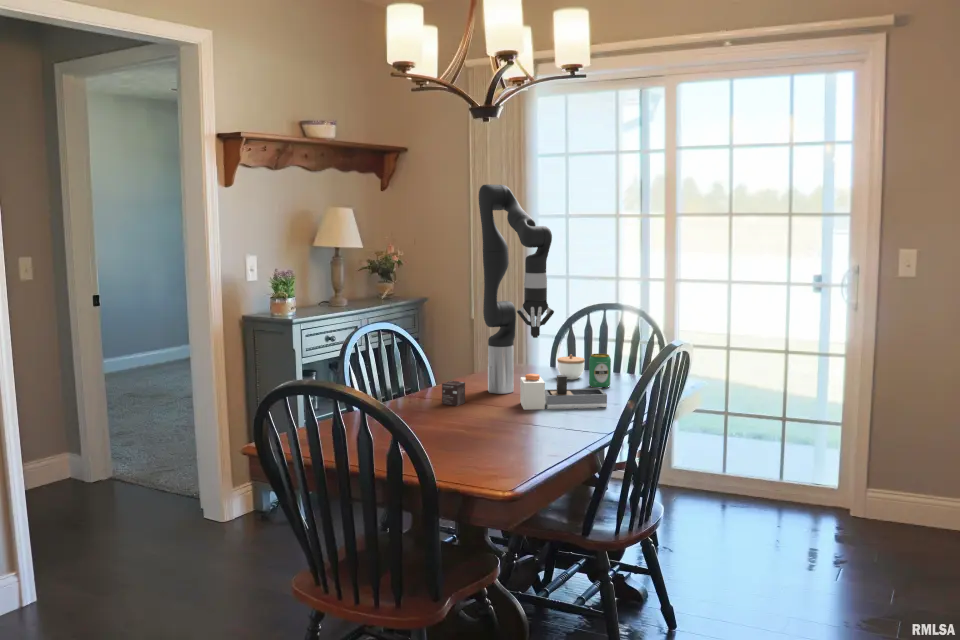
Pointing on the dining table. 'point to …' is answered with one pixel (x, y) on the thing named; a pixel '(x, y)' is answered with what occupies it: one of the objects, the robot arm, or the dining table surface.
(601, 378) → the beverage can
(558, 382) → the carriage
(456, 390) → the box
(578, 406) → the gray rectangular tray
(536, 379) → the button
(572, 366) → the lidded jar
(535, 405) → the white boxy piece
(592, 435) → the dining table surface
